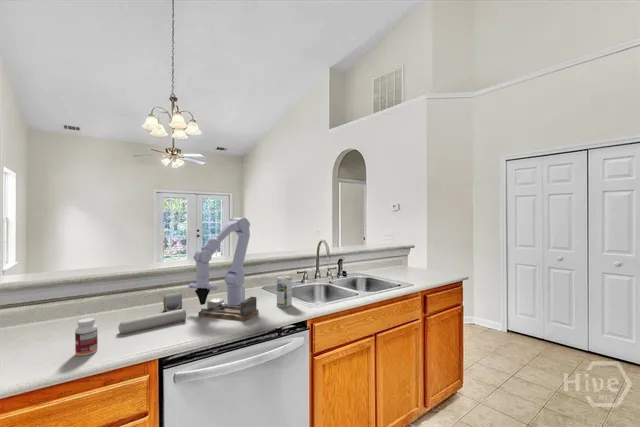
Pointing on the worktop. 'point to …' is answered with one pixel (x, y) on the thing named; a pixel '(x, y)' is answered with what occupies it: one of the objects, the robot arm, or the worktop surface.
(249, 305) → the gauge base
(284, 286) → the syrup box
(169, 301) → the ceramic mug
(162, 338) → the worktop surface
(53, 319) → the worktop surface
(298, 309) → the worktop surface
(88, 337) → the pill bottle
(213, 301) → the gauge carriage
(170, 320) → the tube
